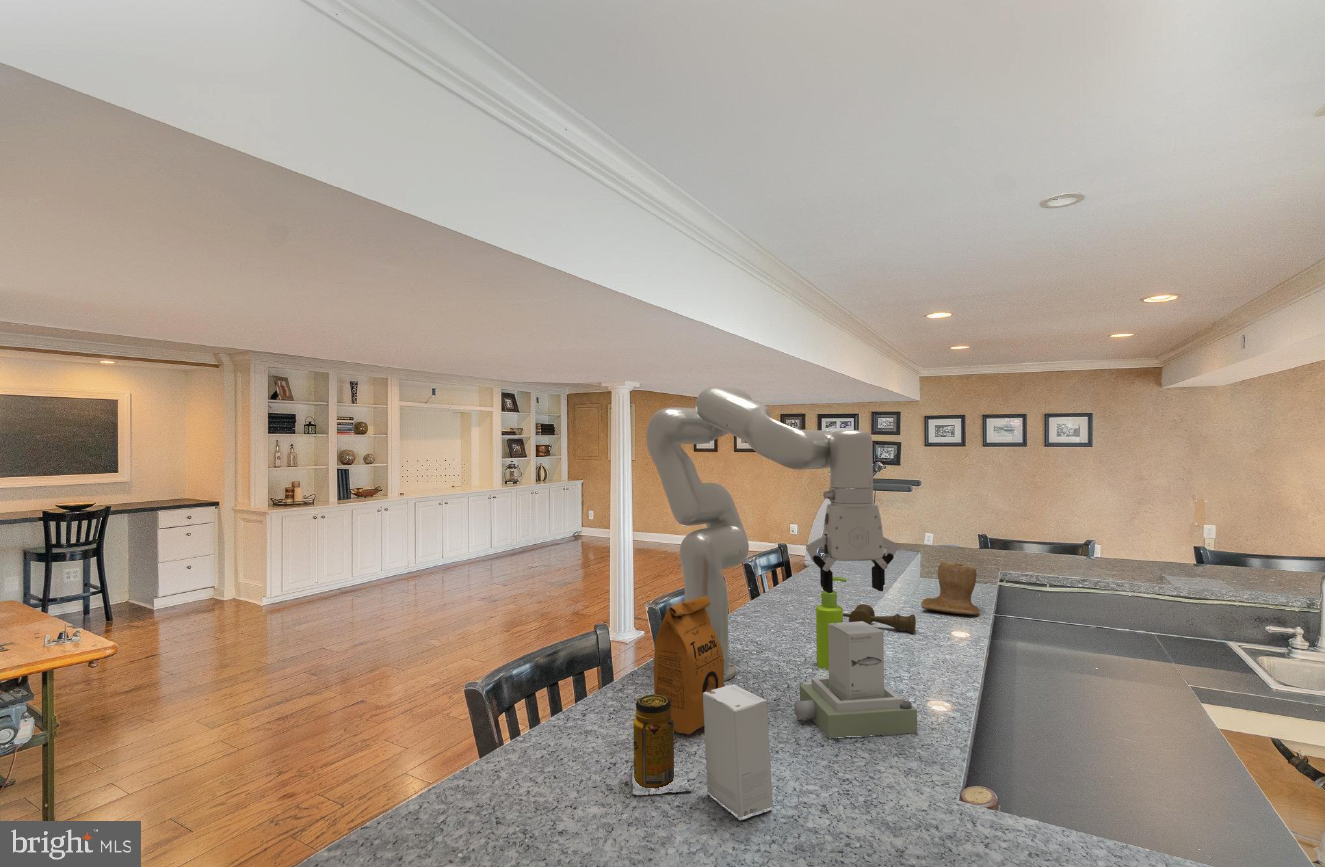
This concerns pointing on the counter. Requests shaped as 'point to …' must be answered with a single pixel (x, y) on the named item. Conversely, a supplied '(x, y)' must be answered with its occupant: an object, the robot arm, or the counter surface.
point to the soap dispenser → (826, 623)
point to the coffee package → (687, 662)
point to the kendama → (882, 618)
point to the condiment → (653, 742)
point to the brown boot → (954, 589)
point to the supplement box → (856, 661)
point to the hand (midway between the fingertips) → (852, 590)
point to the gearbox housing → (855, 712)
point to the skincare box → (737, 749)
